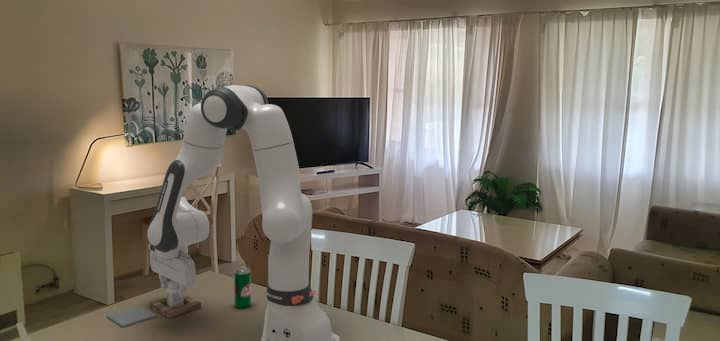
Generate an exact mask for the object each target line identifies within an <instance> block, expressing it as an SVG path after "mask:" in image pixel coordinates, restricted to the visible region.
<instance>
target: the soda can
mask: <svg viewBox="0 0 720 341" xmlns="http://www.w3.org/2000/svg"><path fill="white" fill-rule="evenodd" d="M234 269H235V270H234V272H233V286H234V287H233V290H234V291H233V292H234V295H233V296H234V301H233V302H234V306H235V307H236V308H238V309H245V308H246V309H247V308H248V307H250V306H251V304H252V289H251V288H252V275H251V274H252V271H251V270H250V267H248V266H238V267H236V268H234Z"/></svg>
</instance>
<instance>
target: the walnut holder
mask: <svg viewBox="0 0 720 341" xmlns="http://www.w3.org/2000/svg"><path fill="white" fill-rule="evenodd" d="M183 299H184V305H181V306H178V307H175V308H169V307H167V297H164V298H160V299H158V300H154V301H150V302H149V309H151V310H153V312H156V313H158V314H159V315H161V316H163V317H164V318H166V319H172V318H175V317H177V316H178V317H179V316H180V315H183V314H187V313H190V312H193V311H196V310H199V309H202V302H201V301H200V300H197V299H195V298H193V297H190V296H189V295H187V294H185V296H183Z"/></svg>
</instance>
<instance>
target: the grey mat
mask: <svg viewBox="0 0 720 341" xmlns="http://www.w3.org/2000/svg"><path fill="white" fill-rule="evenodd" d="M106 318H107V319H109V320H110V321H111V322H113V323H115V324H116V325H117V326H120V327H121V328H126V327H130V326H132V325H136V324H139V323H142V322H145V321H148V320H152V319H154V318H157V315H156V314H155V313H152V312H151V311H149V310H147V308H144V307H142V306H141V305H138V306H134V307H132V308H128V309H124V310H122V311H121V310H120V311H118V312H114V313H110V314H107V315H106Z"/></svg>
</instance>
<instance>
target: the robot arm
mask: <svg viewBox="0 0 720 341" xmlns="http://www.w3.org/2000/svg"><path fill="white" fill-rule="evenodd" d="M241 129H242V130H244V131H245V132H246V133H247V135H248V137H249V140H250V146H251V150H252V155H253V158H254V159H253V160H254V163H255V167H256V173H257V175H258V176H257V177H258V184H259V193H260V194H259V196H260V197H259V198H260V206H261V215H262V216H261V217H262V218H261V219H262V221H261V227H262V231H263V234H264V235H265V237H266V238H268V239H269V241H270V246H269V252H268V257H267V258H268V259H267V262H268V267H267V270H268V271H267V272H268V274H267V281H268V282H267V284H266V299H267V305H266V309H265V312H264V322H263V323H264V324H263V331H262V334H261V335H262V336H261V337H260V341H341V337H340V336H339V335H337V334H336V333H334V332H333V331H332V325H331V324H332V323H331V319H330V318H329V317H328V314H327V312H326V311H325V310H323V309H322V308H321V306H319V304H318V303H317V302H316V301H315V300H314V296H315V295H316V290H312V287H311V283H310V281H309V280H310V277H309V276H310V272H309V271H310V250H311V249H310V247H311V239H312V238H311V237H312V224H313V223H312V222H313V206H312V205H313V204H312V202H311V200H310V198H309V197H308V196H307V195H305V194H304V193H303V192H302V187H301V175H300V173H301V171H300V166H299V162H298V161H299V160H298V156H297V152H296V148H295V143H294V138H293V135H292V131H291V128H290V124H289V122H288V120H287V117H286V115H285V113H284V111H283V109H282V108H281V106H278V105H277V104H271V103H270V104H269V100H268V97H267V95H266V94H265V92H264V91H263V90H262V89H261V88H259V87H256V86H255V85H249V84H247V85H240V84H239V85H238V84H232V85H226V86H225V85H224V86H218V87H214V88H212V89H210V90H209V91H207V92H206V94H205V95H203V97H202V99H201V102H200V103H196V104H194V105H193V106H192V107H191V109H190V111H189V114H188V116H187V119H186V124H185V127H184V132H183V136H182V137H183V139H182V143H181V147H180V149H179V152H178V154H177V156H176V157H175V159H174V160H173V161H172V162H171V163H170V164H169V166H168V168H167V170H166V172H165V175H164V179H163V181H162V185H161V189H160V192H159V195H158V196H159V197H158V198H157V203H156V206H155V210H154V213H153V216H152V217H151V218H150V221H149V222H148V223H149V224H148V225H147V229H146V239H147V241H148V249H149V251H150V252H149V262H150V268H151V271H152V272H154V273H156V274H158V278H159V282H160V287H161V288H162V289H168V282H169V281H168V279H169V280H170V281H171V280H173V281H175V282H177V283H179V286H180V289H179V290H178V296H180V297H183V296H185V295H186V290H187V288H188V286H189V287H190V286H191V285H194V284H195V283H196V281H197V276H196V275H197V274H196V265H195V262H194V259H192V257H191V255H190V253H189V254H188V252H189V247H188V246H190V245H192V244H193V245H194V244H196V243H200V242H203V241H206V240H207V239H208V238H209V236H210V235H211V232H212V221H211V218H210V217H209V215H208V214H207V213H206V212H205V211H204V210H202V209H201V210H200V209H197V207H194V206H193V205H191V204H190V203H189V201H188V200H187V198H186V196H184V195H183V194H184V192H185V190H186V189H187V188H188V187H189V186H190V185H191V184H192V183H194V182H195V181H197V180H198V179H200V178H202V177H204V176H206V175H209V174H210V173H211V172H213V171H214V170H215V169H217V167H218V166H219V165H220V163H221V160H222V157H223V153H224V146H225V139H226V134H227V131H228V130H233V131H239V130H241Z"/></svg>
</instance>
